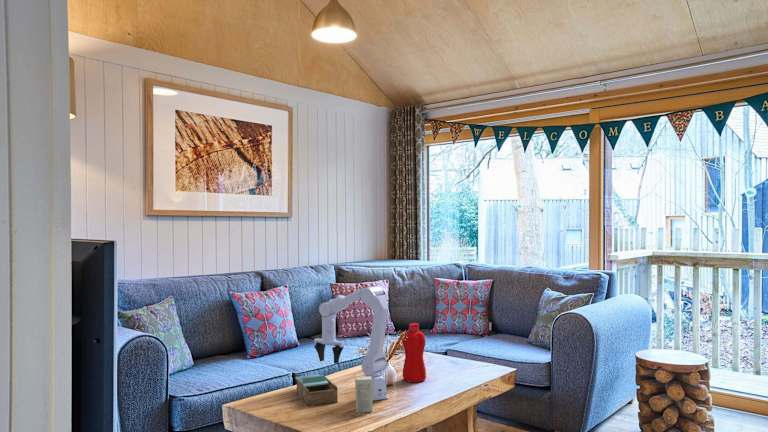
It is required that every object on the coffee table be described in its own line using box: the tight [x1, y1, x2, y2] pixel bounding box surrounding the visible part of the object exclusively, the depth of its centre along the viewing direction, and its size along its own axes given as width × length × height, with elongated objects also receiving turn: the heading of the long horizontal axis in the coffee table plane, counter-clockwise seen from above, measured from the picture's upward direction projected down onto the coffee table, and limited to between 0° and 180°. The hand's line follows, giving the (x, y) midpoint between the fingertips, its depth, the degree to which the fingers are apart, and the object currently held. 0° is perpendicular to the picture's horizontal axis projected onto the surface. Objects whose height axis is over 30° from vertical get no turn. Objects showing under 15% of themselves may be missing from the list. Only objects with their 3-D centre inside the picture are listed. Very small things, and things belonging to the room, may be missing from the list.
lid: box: [295, 373, 329, 387], centre depth 236 cm, size 14×10×3 cm
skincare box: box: [354, 376, 374, 413], centre depth 215 cm, size 6×4×12 cm
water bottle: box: [400, 322, 427, 383], centre depth 254 cm, size 9×11×25 cm
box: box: [296, 376, 338, 407], centre depth 230 cm, size 16×12×6 cm
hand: (329, 362), depth 246 cm, fingers open, 7 cm apart
